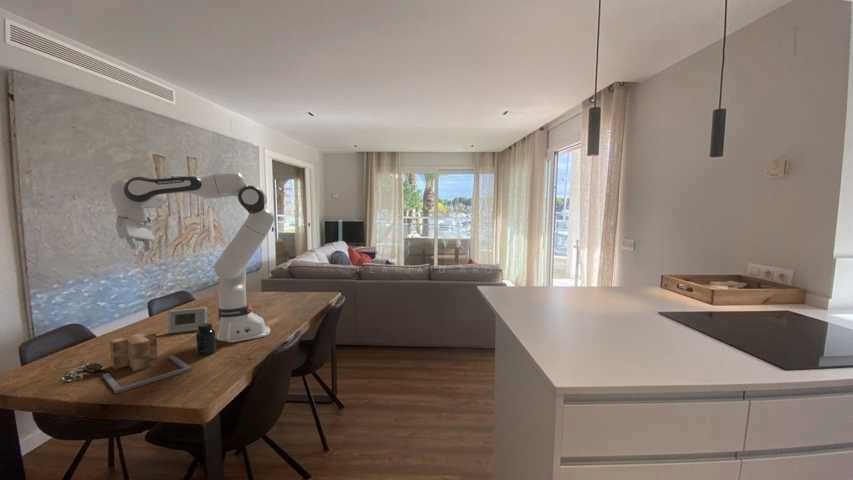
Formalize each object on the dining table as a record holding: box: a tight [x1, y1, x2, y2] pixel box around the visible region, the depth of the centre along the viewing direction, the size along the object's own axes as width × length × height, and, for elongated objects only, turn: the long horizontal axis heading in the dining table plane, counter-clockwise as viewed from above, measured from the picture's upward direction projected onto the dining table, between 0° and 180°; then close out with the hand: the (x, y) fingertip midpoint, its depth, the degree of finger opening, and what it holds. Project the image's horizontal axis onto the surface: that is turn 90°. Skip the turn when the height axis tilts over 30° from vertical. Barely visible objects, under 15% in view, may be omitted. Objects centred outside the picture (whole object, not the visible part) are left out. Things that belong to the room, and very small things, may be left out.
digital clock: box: [167, 307, 208, 334], centre depth 171 cm, size 16×9×11 cm, turn 103°
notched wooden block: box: [109, 330, 158, 372], centre depth 132 cm, size 13×12×10 cm
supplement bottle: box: [195, 322, 217, 357], centre depth 142 cm, size 7×7×12 cm
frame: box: [102, 354, 192, 394], centre depth 124 cm, size 21×18×1 cm
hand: (141, 250), depth 144 cm, fingers open, 8 cm apart
